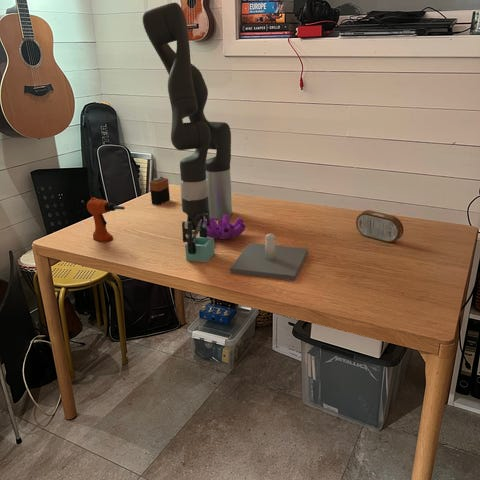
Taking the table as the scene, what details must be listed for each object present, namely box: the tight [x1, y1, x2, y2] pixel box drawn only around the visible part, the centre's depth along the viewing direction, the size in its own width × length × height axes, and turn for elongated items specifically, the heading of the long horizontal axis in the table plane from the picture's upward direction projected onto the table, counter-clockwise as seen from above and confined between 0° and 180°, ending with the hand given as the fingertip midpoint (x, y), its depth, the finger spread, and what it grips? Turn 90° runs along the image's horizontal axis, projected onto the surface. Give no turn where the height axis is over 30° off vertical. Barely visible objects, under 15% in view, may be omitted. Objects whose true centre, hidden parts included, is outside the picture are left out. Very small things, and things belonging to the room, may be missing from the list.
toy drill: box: [86, 197, 126, 243], centre depth 153 cm, size 5×18×14 cm, turn 53°
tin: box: [355, 209, 404, 244], centre depth 150 cm, size 15×3×8 cm, turn 47°
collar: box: [184, 235, 215, 263], centre depth 142 cm, size 6×6×5 cm
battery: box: [149, 175, 171, 206], centre depth 190 cm, size 4×7×10 cm, turn 152°
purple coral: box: [199, 215, 247, 240], centre depth 155 cm, size 11×15×10 cm
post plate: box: [229, 233, 309, 282], centre depth 136 cm, size 18×18×9 cm
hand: (198, 248), depth 142 cm, fingers open, 8 cm apart
